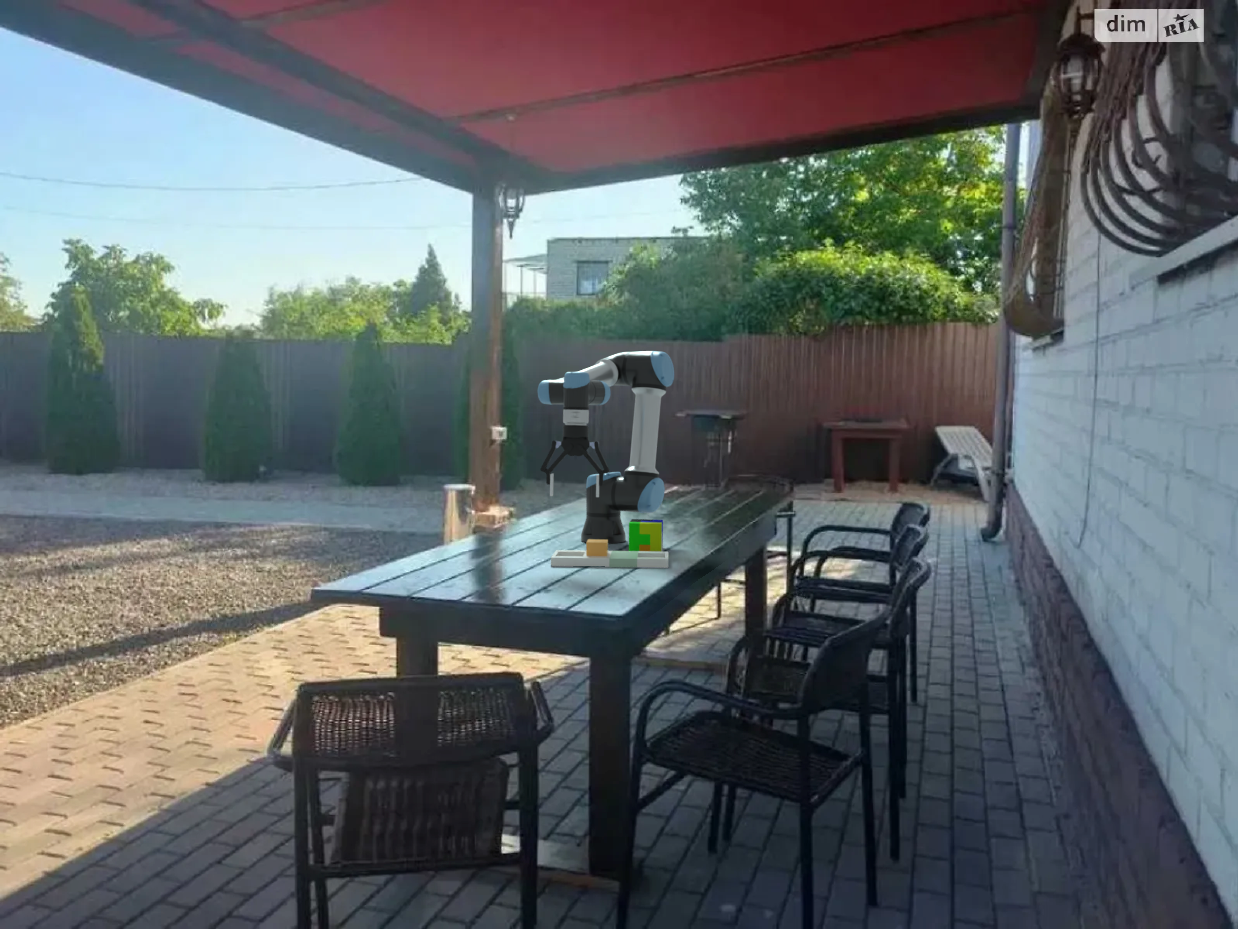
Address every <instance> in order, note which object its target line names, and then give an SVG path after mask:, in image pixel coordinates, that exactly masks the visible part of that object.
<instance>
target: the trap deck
mask: <svg viewBox="0 0 1238 929" xmlns="http://www.w3.org/2000/svg"><path fill="white" fill-rule="evenodd" d="M551 565H552V566H551ZM550 566H551V567H573V566H605V567H604V568H647V569H648V568H649V569H651V568H656V569H657V568H658V569H660V568H661V569H664V568H665V569H668V568H669V551H662V552H661V551H629V550H608V554H607V556H586V549H585V550H583V549H581V550H578V549H574V550H573V549H568V550H567V549H556V550H555V551H554V552H553V553H552V555H551V557H550Z"/></svg>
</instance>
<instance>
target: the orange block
mask: <svg viewBox="0 0 1238 929" xmlns="http://www.w3.org/2000/svg"><path fill="white" fill-rule="evenodd" d="M585 544H586V549H585V550H586V556H607V554H608V551H609V543H608V540H600V539H588V540H587V542H585Z"/></svg>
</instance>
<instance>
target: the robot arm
mask: <svg viewBox="0 0 1238 929" xmlns="http://www.w3.org/2000/svg"><path fill="white" fill-rule="evenodd" d="M673 363H674V362H673V361H672V358H671V357H670V355H669V354H668V353H667V352H664V351H661V350H658V351H657V350H646V351H643V350H642V351H623V352H622V351H621V352H618V353H615V354H612V355H609V356H606V357H604V358H601V359H599V360H597V361H596V362H595V363H594V365H592V366H590V367H587V368H583V369H582V370H579V371H567V372H565V374H564V376H563V377H560V378H557V379H547V380H546V379H545V380H542V381H541V382H539V384H538V387H537V397H538V400H539V401H540V403H541V404H543V405H551V406H553V405H563V410H562V412H563V414H562V422H563V424H564V425H563V426H562V440H561V441H559V440H552V441H551V448H550V449H549V452H548V454H547V455H546V457H545V459H544V461H543V464H542V465H541V466H540V472H542V473H545V474H546V480H545V481H546V485H549V497H553V496H554V482H555V481H554V480H555V477H554V474H555V473H552V472H553V471H554V470H555V469H556V467H557V466H558V465H559V464H560V463H561V462H562V461H563V459H565V458H566V456H569V457H573V456H576V457H581V456H584V457H585V459H586V460H587V462H589V464H590V465H591V466H592V467H593V468H594V469H595V471H596V472H597V473H595V474H594V473H593V474H590V475H588V477H587V479H586V487H585V490H586V492H585V493H586V494H585V495H586V498H585V500H586V502H585V503H586V504H585V505H586V506H585V507H586V509H585V511H586V514H585V515H586V517H585V522H584V525H583V527H582V531H581V534H580V541H581V542H583V543H586V542H587V540H588V539H600V540H608V544H620V543H623V542H626V538H627V535H626V532H625V528H624V525H623V522H622V519H621V518H622V516H621V512H626V513H627V512H628V513H629V512H630V513H641V514H644V513H647V514H649V513H654V512H656V511H657V510H658V509H659V508H660V507H661V505H662V503H663V500H664V497H665V492H666V491H665V489H666V488H665V482H664V481H663V479H662V478H660V472H659V471H658V470H657V468H656V462H657V461H656V460H657V451H658V450H657V449H658V448H657V447H658V439H659V438H658V437H659V426H660V414H661V402H662V397H663V396H664V395H666V393H667V388H668V387H671V386H672V385H673V383H674V380H675V369H674V364H673ZM613 386H620V387H621V386H624V387H631V391H632V392H633V394H634V395H635V400H634V409H633V419H632V420H633V421H632V433H631V442H630V443H631V444H630V458H629V466H628V467H627V468H626V469H625V470H624V472H623V474H624V475H623V476H622V473H621V472H620V471H612V472H610V468H609V466H608V464H607V462H606V459H605V457H604V456H603V453H602V451H601V449H600V442H599V441H598V440H596V441H591V442H590V440H589V425H587V424H589V420H590V418H589V417H590V410H589V409H590V408H589V406H603V405H605V404H607V402H609V400H610V398H611V388H610V387H613ZM560 446H561V448H562V449H563V452H562V453H560V455H559V456H558V457H557V458H556V460H554V462H553V463H552V464H551V465H550V467H548V465H549V463H550V461H551V460H552V457H553V455H554V454H555V451H556V449H558V448H559V447H560ZM590 447H591V448H592V449H593V450H595V454H596V455H597V457H598V460H599V461H600V464H601V466H602V468H603V469H602V468H601V467H600V465H599V464H598V463H597V462H596V460H594V458H593V457H592V456H591V455H590V453H589V452H588V451H587V450H588V449H589V448H590ZM547 467H548V468H547Z"/></svg>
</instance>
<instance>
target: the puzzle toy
mask: <svg viewBox="0 0 1238 929" xmlns="http://www.w3.org/2000/svg"><path fill="white" fill-rule="evenodd" d="M663 540H664V519H641V518H640V519H639V518H638V519H637V518H632V519H631V520H630V521H629V522H628V551H661V552H664V550H663V548H664V546H663V545H664V544H663V543H664V541H663Z"/></svg>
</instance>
